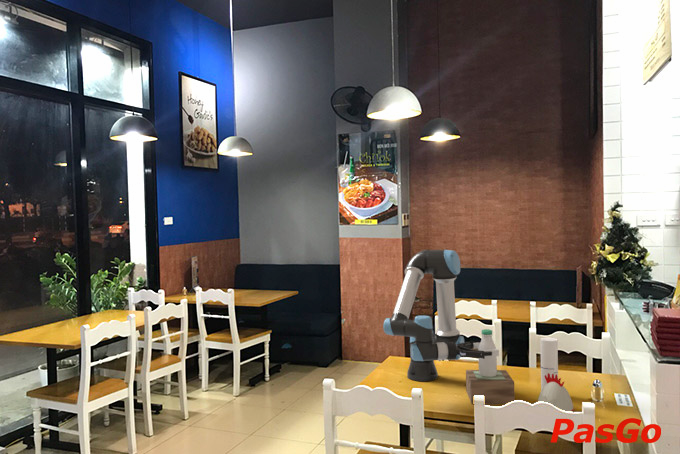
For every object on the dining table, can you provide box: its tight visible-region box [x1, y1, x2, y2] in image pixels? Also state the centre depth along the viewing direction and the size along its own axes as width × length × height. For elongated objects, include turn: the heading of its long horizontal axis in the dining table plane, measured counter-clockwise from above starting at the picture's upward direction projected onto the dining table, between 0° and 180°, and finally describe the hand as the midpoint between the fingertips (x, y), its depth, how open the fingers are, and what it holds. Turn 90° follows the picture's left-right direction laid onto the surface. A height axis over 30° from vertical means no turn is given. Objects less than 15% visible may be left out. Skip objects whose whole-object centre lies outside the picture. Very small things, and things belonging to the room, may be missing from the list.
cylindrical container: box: [539, 336, 559, 391], centre depth 243 cm, size 7×7×25 cm
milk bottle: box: [478, 328, 498, 377], centre depth 242 cm, size 8×8×20 cm
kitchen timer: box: [537, 373, 574, 411], centre depth 225 cm, size 14×14×15 cm
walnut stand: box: [465, 369, 516, 405], centre depth 242 cm, size 18×18×10 cm
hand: (493, 348), depth 242 cm, fingers open, 13 cm apart
